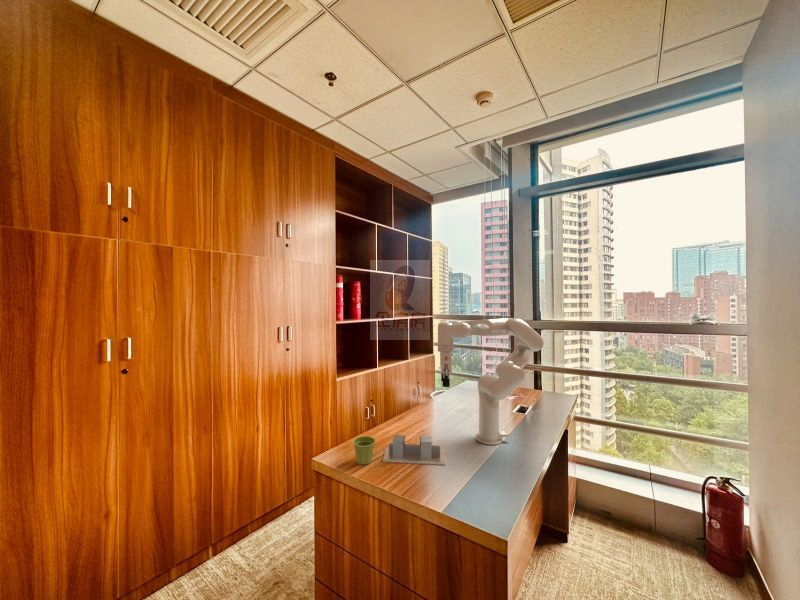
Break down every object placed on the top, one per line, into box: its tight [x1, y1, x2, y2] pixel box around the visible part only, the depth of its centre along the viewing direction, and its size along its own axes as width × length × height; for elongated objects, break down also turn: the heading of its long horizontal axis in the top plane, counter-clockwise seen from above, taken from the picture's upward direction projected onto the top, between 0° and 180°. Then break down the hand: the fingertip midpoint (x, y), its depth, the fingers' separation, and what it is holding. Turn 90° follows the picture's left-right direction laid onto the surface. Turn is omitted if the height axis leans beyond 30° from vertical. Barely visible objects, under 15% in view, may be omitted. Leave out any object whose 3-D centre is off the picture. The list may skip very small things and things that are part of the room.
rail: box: [382, 434, 446, 466], centre depth 137 cm, size 26×11×8 cm, turn 86°
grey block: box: [419, 435, 433, 459], centre depth 136 cm, size 5×6×7 cm
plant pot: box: [352, 435, 376, 466], centre depth 132 cm, size 9×9×9 cm
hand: (445, 384), depth 150 cm, fingers open, 9 cm apart
